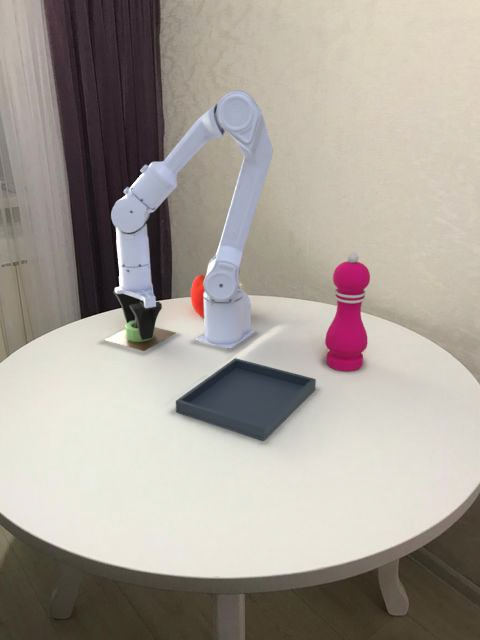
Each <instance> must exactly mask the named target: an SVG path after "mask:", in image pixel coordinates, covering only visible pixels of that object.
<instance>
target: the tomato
mask: <svg viewBox="0 0 480 640" xmlns="http://www.w3.org/2000/svg"><path fill="white" fill-rule="evenodd" d="M205 277H206V274H200V275H198V276H196V277H195V279H194V280H193V281H192V285H191V288H190V300H191V304H192V307H193V309H194V311H195V313H197V314H198V315H199V316H200V317H202V318H204V295H203V294H204V292H205V290H204V279H205ZM239 289H241V288H240V287H239Z"/></svg>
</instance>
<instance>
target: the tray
mask: <svg viewBox="0 0 480 640" xmlns="http://www.w3.org/2000/svg"><path fill="white" fill-rule="evenodd" d="M316 382H317V379H316V378H313V377H310V376H306V375H302V374H297V373H294V372H290V371H286V370H283V369H280V368H279V369H278V368H275V367H271V366H267V365H264V364H259V363H255V362H252V361H247V360H244V359H240V358H237V357H235V358H233V359H232V360H230V361H229V362H228V363H226V364H225V365H224V366H222V367H220V368H219V369H217V370H216V371H215V372H213V373H212V374H211V375H210V376H208V377H207V378H205V379H204V380H203V381H201V382H200V383H198V384H197V385H196V386H194V387H193V388H191V389H190V390H188V391H187V392H186V393H184V394H183V395H182V396H180V397H178V399H176V400H175V412H176V413H177V414H181V415H183V416H187V417H190V418H193V419H196V420H199V421H202V422H205V423H208V424H210V425H214V426H217V427H220V428H223V429H226V430H229V431H232V432H235V433H238V434H241V435H245V436H248V437H251V438H253V439H256V440H259V441H262V442H265V440H266V439H268V437H269V436H271V435H272V434H273V433H274V432H275V430H277V429H278V428H279V427H280V426H281V425H282V423H284V422H285V421H286V420H287V419H288V418H289V417H290V416H291V415H292V414H293V413H294V411H296V410H297V409H298V408H299V407H300V406H301V405H302V404H303V403H304V402H305V401H306V400H307V399H308V397H310V396H311V395H312V394H313V393H314V392H315V391H316Z"/></svg>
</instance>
